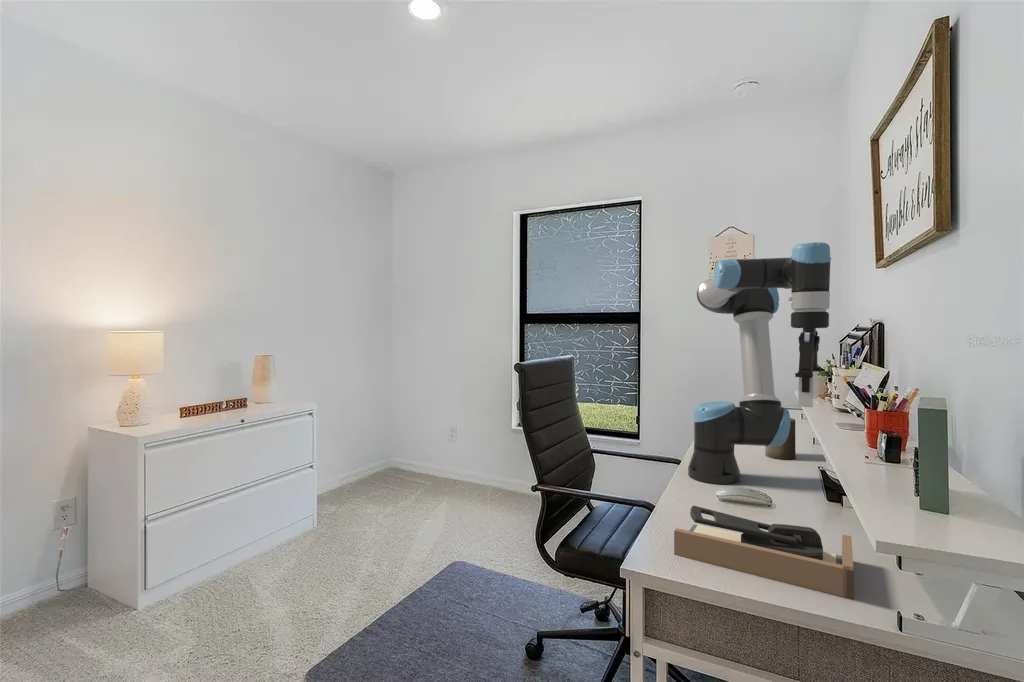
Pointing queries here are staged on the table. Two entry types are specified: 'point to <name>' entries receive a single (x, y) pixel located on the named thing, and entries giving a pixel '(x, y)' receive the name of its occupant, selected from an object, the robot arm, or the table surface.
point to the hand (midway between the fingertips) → (808, 402)
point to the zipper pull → (766, 533)
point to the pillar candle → (784, 446)
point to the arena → (769, 560)
